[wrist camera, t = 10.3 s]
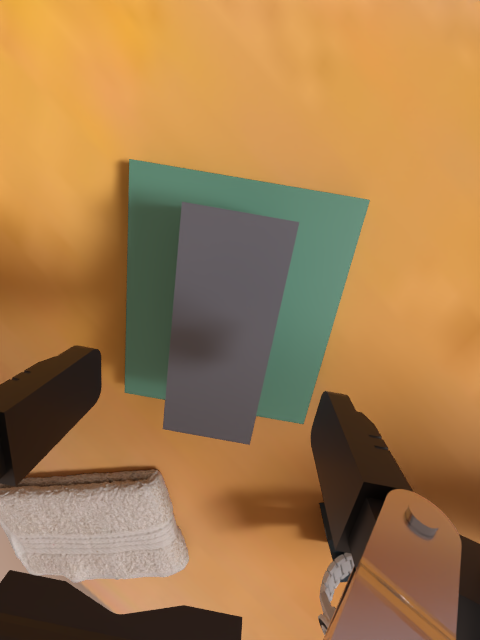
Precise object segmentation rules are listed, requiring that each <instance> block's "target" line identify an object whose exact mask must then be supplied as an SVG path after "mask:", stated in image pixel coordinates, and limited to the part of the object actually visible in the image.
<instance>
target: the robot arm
mask: <svg viewBox="0 0 480 640" xmlns="http://www.w3.org/2000/svg"><path fill="white" fill-rule="evenodd" d="M100 393H101V353H100V351H99V350H98V349H93V348H88V347H82V346H73V347H71V348H70V349H68V350H66V351H65V352H63V353H61V354H60V355H58V356H56V357H53V358H50V359H47V360H44V361H41V362H38V363H36V364H35V365H33V366H31V367H30V368H28V369H26V370H25V371H24V373H23V372H21V373H19V374H18V375H16V376H14V377H13V378H12V380H10V379H9V380H8V381H6V382H4V383H2V384H1V385H0V484H5V485H10V486H17V485H18V484H19V483H20V482H21V481H22V480H23V479H24V478H25V476H26V475H27V474H28V473H29V472H30V471H31V470H32V469H33V468H34V467H35V466H36V465H37V464H38V463H39V462H40V461H41V460H42V459H43V458H44V457H45V456H46V455H47V454H48V453H49V452H50V450H51V449H52V448H53V447H54V446H55V445H56V444H57V443H58V442H59V441H60V440H61V439H62V438H63V437H64V436H65V435H66V434H67V433H68V432H69V431H70V430H71V429H72V428H73V427H74V426H75V425H76V423H77V422H78V421H79V420H80V419H81V418H82V417H83V416H84V415H85V414H86V413H87V412H88V411H89V410H90V409H91V408H92V407H93V406H94V405H95V403H96V402H97V400H98V398H99V396H100ZM311 447H312V451H313V455H314V460H315V464H316V469H317V473H318V477H319V482H320V486H321V491H322V495H323V499H324V504H325V508H326V512H327V517H328V521H329V526H330V530H331V534H332V539H333V543H334V548H335V550H336V551H341V552H346V553H351V555H352V558H353V562H354V568H353V570H352V572H351V574H350V577H349V579H348V581H347V584H346V586H345V589H344V591H343V593H342V596H341V598H340V601H339V603H338V605H337V608H336V610H335V613H334V615H333V617H332V620H331V622H330V624H329V627H328V629H327V632H326V634H325V636H324V639H323V640H480V544H478V543H476V542H474V541H472V540H470V539H468V538H465V537H463V536H461V535H459V534H458V531H457V529H456V528H455V526H454V525H453V523H452V522H451V521H450V519H449V518H448V517H447V516H446V515H445V514H444V513H443V512H442V511H441V510H440V509H439V508H438V507H437V506H436V505H434V504H433V503H432V502H430V501H429V500H427V499H426V498H424V497H423V496H421V495H419V494H417V493H414V492H413V491H412V489H411V487H410V485H409V484H408V482H407V480H406V479H405V477H404V475H403V473H402V472H401V470H400V468H399V466H398V465H397V463H396V461H395V459H394V458H393V456H392V454H391V453H390V451H388V447H387V446H386V444H385V442H384V440H382V439H381V435H380V434H379V432H378V430H377V428H376V427H375V425H374V424H373V423H372V422H371V421H370V420H369V419H368V418H367V417H366V416H365V415H364V414H363V413H361V412H356V410H355V408H354V406H353V404H352V402H351V400H350V398H349V397H348V396H347V395H344V394H339V393H333V392H328V391H325V392H323V394H322V396H321V399H320V403H319V406H318V409H317V412H316V416H315V419H314V422H313V426H312V430H311ZM241 631H242V617H239V616H234V615H229V614H224V613H219V612H214V611H209V610H204V609H199V608H195V607H190V606H185V605H184V606H177V607H170V608H163V609H157V610H150V611H143V612H136V613H129V614H115V613H113V612H111V611H109V610H108V609H106V608H105V607H103V606H102V605H100V604H99V603H97V602H95V601H94V600H93V599H91V598H90V597H88V596H86V595H85V594H84V593H82V592H81V591H79V590H78V589H76V588H75V587H73V586H72V585H70V584H69V583H67V582H66V581H61V580H56V579H51V578H46V577H41V576H36V575H32V574H27V573H22V572H17V571H12V570H10V571H9V572H8V573H7V574H6V576H5V577H4V579H3V580H2V581H1V583H0V640H241Z"/></svg>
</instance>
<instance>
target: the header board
mask: <svg viewBox="0 0 480 640" xmlns="http://www.w3.org/2000/svg"><path fill="white" fill-rule="evenodd" d="M369 201H370V200H367V199H361V198H355V197H350V196H344V195H338V194H332V193H326V192H320V191H314V190H308V189H303V188H297V187H291V186H285V185H279V184H273V183H267V182H261V181H255V180H250V179H244V178H238V177H232V176H226V175H220V174H214V173H208V172H203V171H197V170H191V169H185V168H179V167H173V166H167V165H161V164H155V163H150V162H144V161H138V160H132V159H129V204H128V254H127V303H126V353H125V393H129V394H135V395H141V396H146V397H152V398H158V399H163V400H165V398H166V386H167V374H168V362H169V350H170V338H171V326H172V314H173V302H174V290H175V278H176V266H177V255H178V243H179V231H180V219H181V207H182V202H187V203H193V204H198V205H204V206H210V207H216V208H221V209H227V210H233V211H239V212H244V213H250V214H256V215H262V216H267V217H273V218H279V219H285V220H290V221H296V222H299V227H298V231H297V236H296V240H295V244H294V249H293V253H292V258H291V262H290V267H289V271H288V276H287V280H286V285H285V289H284V294H283V298H282V302H281V307H280V311H279V316H278V320H277V325H276V329H275V334H274V338H273V343H272V347H271V352H270V356H269V360H268V365H267V369H266V374H265V378H264V383H263V387H262V392H261V396H260V401H259V405H258V410H257V414H256V416H260V417H265V418H271V419H277V420H282V421H288V422H294V423H299V424H304V421H305V417H306V414H307V410H308V407H309V404H310V400H311V397H312V394H313V390H314V387H315V383H316V380H317V377H318V373H319V370H320V367H321V363H322V360H323V357H324V353H325V350H326V346H327V343H328V340H329V336H330V333H331V330H332V326H333V323H334V319H335V316H336V313H337V309H338V306H339V303H340V299H341V296H342V292H343V289H344V286H345V282H346V279H347V276H348V272H349V269H350V265H351V262H352V259H353V255H354V252H355V249H356V245H357V242H358V238H359V235H360V232H361V228H362V225H363V222H364V218H365V215H366V211H367V208H368V205H369Z"/></svg>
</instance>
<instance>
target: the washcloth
mask: <svg viewBox="0 0 480 640" xmlns="http://www.w3.org/2000/svg"><path fill="white" fill-rule="evenodd" d="M0 524H1V527H2V528H3V529H4V531H5V533H6V535H7V537H8V539H9V541H10V543H11V545H12V548H13V549H14V551H15V554H16V556H17V558H19V559H20V560H21V562H22V564H23V565H24V566H25V567H26V569H27V571H28V572H29V573H30V574H33V575H44V574H50V575H52V574H53V575H63V576H65V577H67V578H69V579H70V580H71V581H72V582H74V583H76V582H81V581H84V580H88V579H100V578H104V579H117V580H118V579H130V578H138V577H168V576H170V575H173V574H175V573H177V572H179V571H181V570H183V569H184V568H185V566H186V565H187V563H188V561H189V556H188V549H187V547H186V543H185V540H184V537H183V535H182V533H181V530H180V528H179V527H178V526H177V525H176V521H175V518H174V514H173V505H172V502H171V499H170V497H169V494H168V490H167V487H166V485H165V481H164V479H163V477H162V474H161V473H160V472H159V471H158V470H154V469H151V470H147V471H144V470H140V471H130V472H129V471H123V472H114V473H108V472H107V473H93V474H86V473H84V474H80V475H75V476H74V475H70V476H69V475H68V476H66V477H64V476H53V477H51V478H49V477H47V478H41V477H38V478H24V479H23V480H22V481H21V482H20V483H19V484H18V485H17V486H10V485H5V484H0Z"/></svg>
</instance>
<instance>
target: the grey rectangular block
mask: <svg viewBox="0 0 480 640" xmlns="http://www.w3.org/2000/svg"><path fill="white" fill-rule="evenodd" d="M298 227H299V222H296V221H290V220H285V219H279V218H273V217H267V216H262V215H256V214H250V213H244V212H239V211H233V210H227V209H221V208H216V207H210V206H204V205H198V204H193V203H187V202H182V207H181V219H180V231H179V243H178V255H177V266H176V278H175V290H174V302H173V314H172V326H171V338H170V350H169V362H168V374H167V386H166V398H165V409H164V421H163V429H165V430H171V431H176V432H182V433H187V434H193V435H199V436H204V437H210V438H215V439H221V440H226V441H232V442H238V443H243V444H249V445H250V441H251V436H252V432H253V427H254V423H255V418H256V414H257V410H258V405H259V401H260V396H261V392H262V387H263V383H264V378H265V374H266V369H267V365H268V360H269V356H270V352H271V347H272V343H273V338H274V334H275V329H276V325H277V320H278V316H279V311H280V307H281V302H282V298H283V294H284V289H285V285H286V280H287V276H288V271H289V267H290V262H291V258H292V253H293V249H294V244H295V240H296V236H297V231H298Z"/></svg>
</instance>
